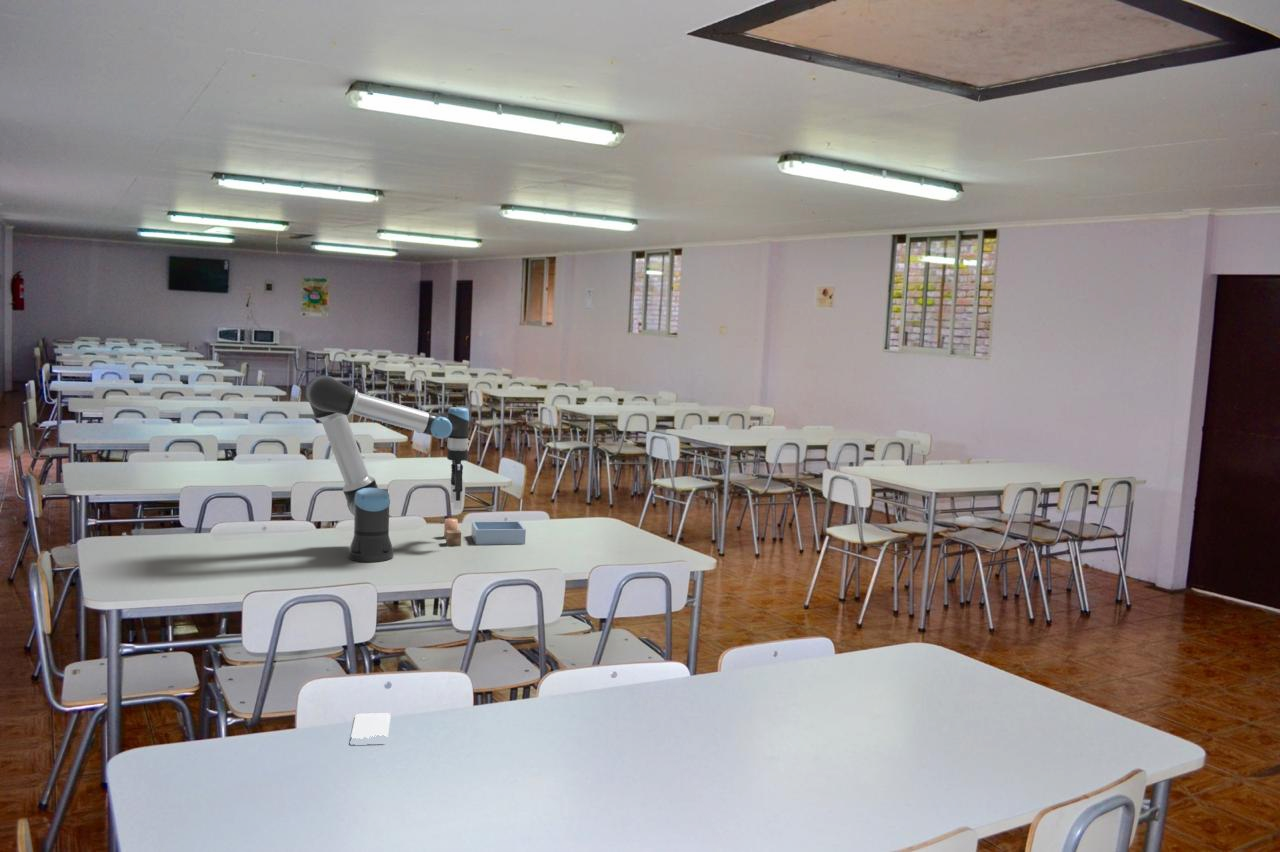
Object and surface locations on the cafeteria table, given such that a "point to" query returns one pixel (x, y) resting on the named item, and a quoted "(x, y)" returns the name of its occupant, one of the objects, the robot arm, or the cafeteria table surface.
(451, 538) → the cube
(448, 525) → the cylinder
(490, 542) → the tote
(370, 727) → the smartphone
